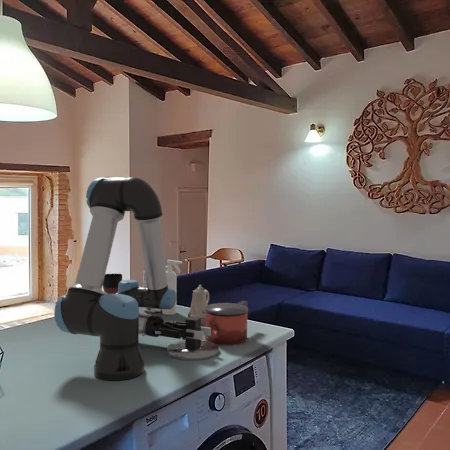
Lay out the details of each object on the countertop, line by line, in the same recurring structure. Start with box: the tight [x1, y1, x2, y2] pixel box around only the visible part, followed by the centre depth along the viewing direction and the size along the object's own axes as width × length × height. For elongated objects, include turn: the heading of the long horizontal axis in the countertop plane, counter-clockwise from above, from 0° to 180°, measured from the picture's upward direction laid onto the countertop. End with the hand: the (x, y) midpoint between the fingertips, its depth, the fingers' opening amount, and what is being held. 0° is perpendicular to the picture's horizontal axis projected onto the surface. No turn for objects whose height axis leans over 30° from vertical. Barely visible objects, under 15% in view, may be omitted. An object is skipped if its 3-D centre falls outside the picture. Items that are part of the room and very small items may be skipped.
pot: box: [204, 300, 249, 346], centre depth 186 cm, size 27×17×12 cm, turn 155°
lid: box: [166, 317, 220, 361], centre depth 166 cm, size 18×18×12 cm
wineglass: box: [102, 273, 123, 294], centre depth 206 cm, size 8×9×20 cm
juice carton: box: [142, 270, 162, 313], centre depth 225 cm, size 8×9×19 cm
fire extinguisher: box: [154, 259, 183, 316], centre depth 220 cm, size 7×12×25 cm, turn 90°
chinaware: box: [187, 284, 210, 327], centre depth 205 cm, size 28×17×17 cm, turn 155°
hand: (206, 333), depth 164 cm, fingers open, 4 cm apart
